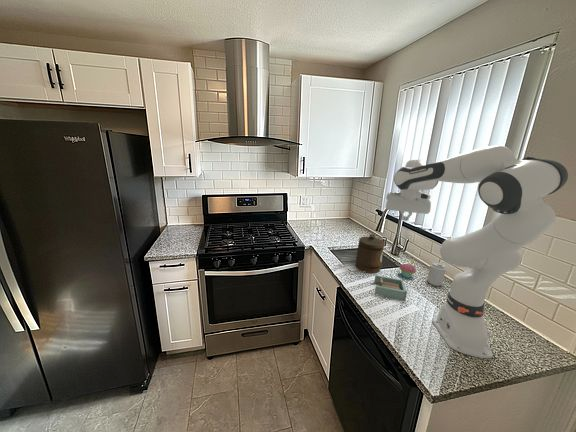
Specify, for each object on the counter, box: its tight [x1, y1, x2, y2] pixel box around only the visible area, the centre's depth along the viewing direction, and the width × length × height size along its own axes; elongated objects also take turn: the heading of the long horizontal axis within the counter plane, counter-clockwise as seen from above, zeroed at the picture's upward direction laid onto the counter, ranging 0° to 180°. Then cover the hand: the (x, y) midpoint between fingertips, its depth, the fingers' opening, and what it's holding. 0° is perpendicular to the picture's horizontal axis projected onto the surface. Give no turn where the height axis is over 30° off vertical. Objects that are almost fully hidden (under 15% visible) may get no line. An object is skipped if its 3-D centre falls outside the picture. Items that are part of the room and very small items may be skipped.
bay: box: [374, 274, 408, 301], centre depth 124 cm, size 12×14×4 cm
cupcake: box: [399, 257, 417, 279], centre depth 139 cm, size 9×8×12 cm
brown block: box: [377, 278, 400, 290], centre depth 124 cm, size 7×10×5 cm, turn 72°
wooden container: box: [355, 234, 385, 274], centre depth 145 cm, size 15×15×22 cm
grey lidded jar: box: [426, 261, 447, 287], centre depth 132 cm, size 8×8×12 cm
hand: (404, 220), depth 121 cm, fingers closed
